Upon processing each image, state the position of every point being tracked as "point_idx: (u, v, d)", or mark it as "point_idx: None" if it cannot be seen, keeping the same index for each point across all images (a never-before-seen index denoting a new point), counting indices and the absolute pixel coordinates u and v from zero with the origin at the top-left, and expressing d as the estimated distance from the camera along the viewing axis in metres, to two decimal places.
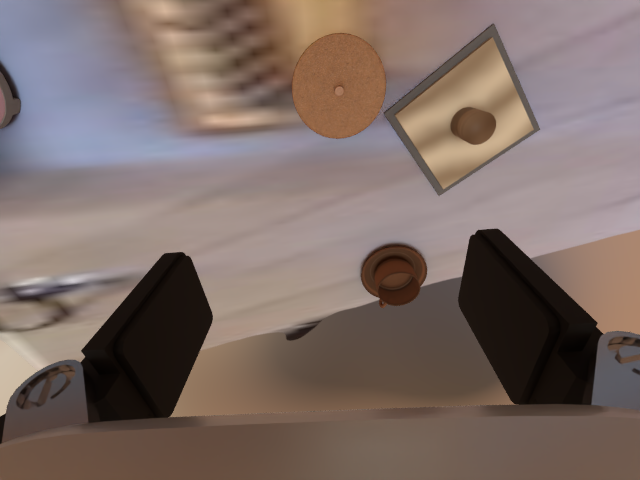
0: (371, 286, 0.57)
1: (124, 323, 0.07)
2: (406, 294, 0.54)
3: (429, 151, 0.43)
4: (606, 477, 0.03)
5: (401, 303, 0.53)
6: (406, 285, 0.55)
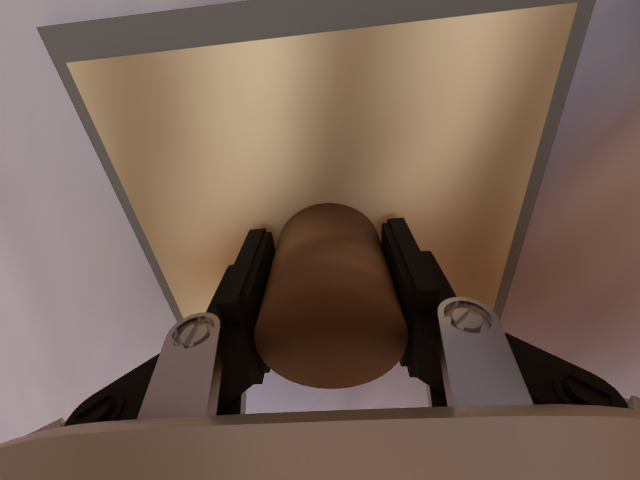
0: None
1: (243, 283, 0.08)
2: None
3: (300, 85, 0.09)
4: (606, 477, 0.03)
5: None
6: None
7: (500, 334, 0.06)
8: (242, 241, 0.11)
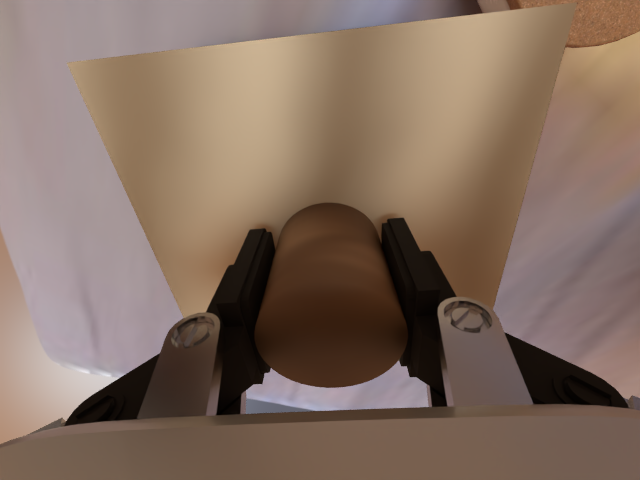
0: None
1: (243, 283, 0.08)
2: None
3: (300, 85, 0.09)
4: (606, 477, 0.03)
5: None
6: None
7: (500, 334, 0.06)
8: (242, 240, 0.11)
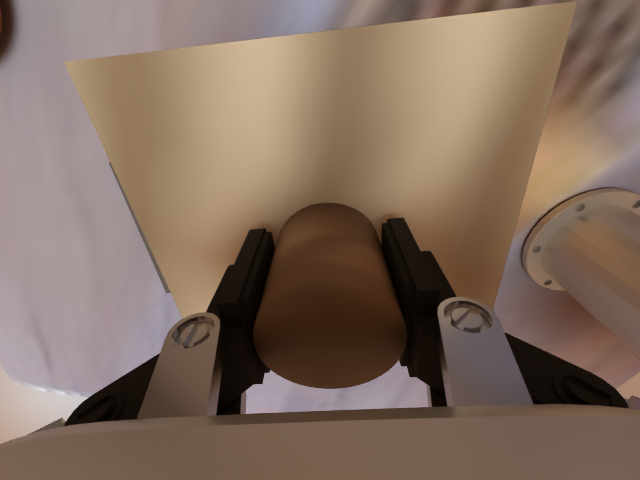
0: None
1: (243, 283, 0.08)
2: None
3: (298, 85, 0.09)
4: (606, 477, 0.03)
5: None
6: None
7: (500, 334, 0.06)
8: (241, 241, 0.11)
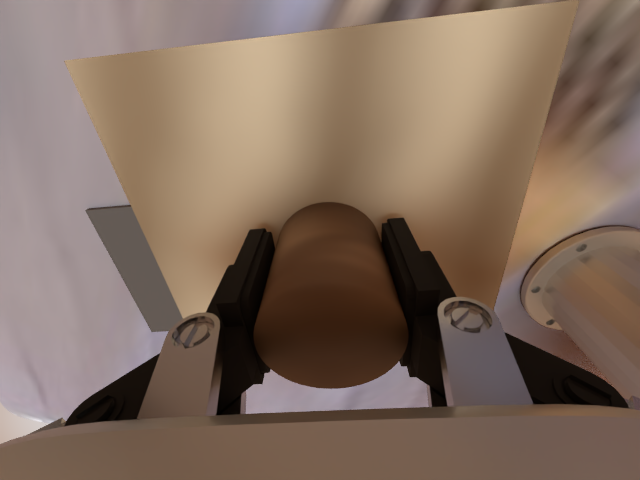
0: None
1: (243, 283, 0.08)
2: None
3: (299, 83, 0.09)
4: (605, 476, 0.03)
5: None
6: None
7: (500, 334, 0.06)
8: (241, 240, 0.11)
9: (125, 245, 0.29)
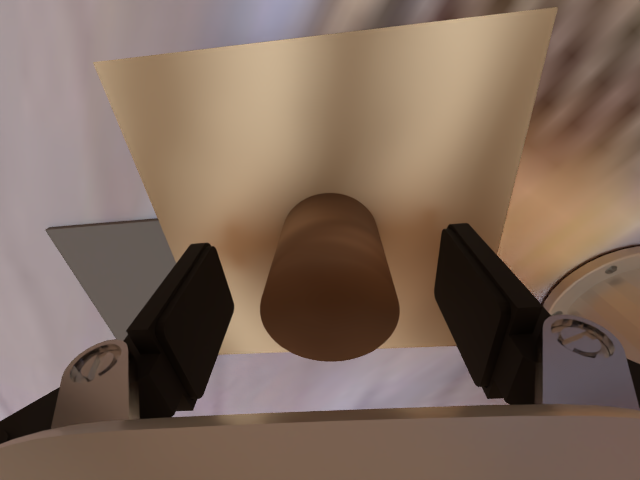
0: None
1: (162, 306, 0.07)
2: None
3: (303, 83, 0.09)
4: (606, 477, 0.03)
5: None
6: None
7: (622, 366, 0.05)
8: (249, 229, 0.12)
9: (93, 267, 0.26)
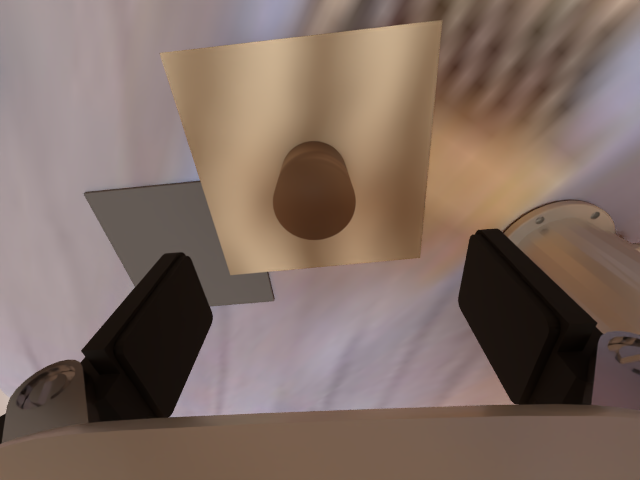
0: None
1: (124, 323, 0.07)
2: None
3: (294, 66, 0.15)
4: (606, 477, 0.03)
5: None
6: None
7: None
8: (258, 169, 0.18)
9: (122, 226, 0.31)
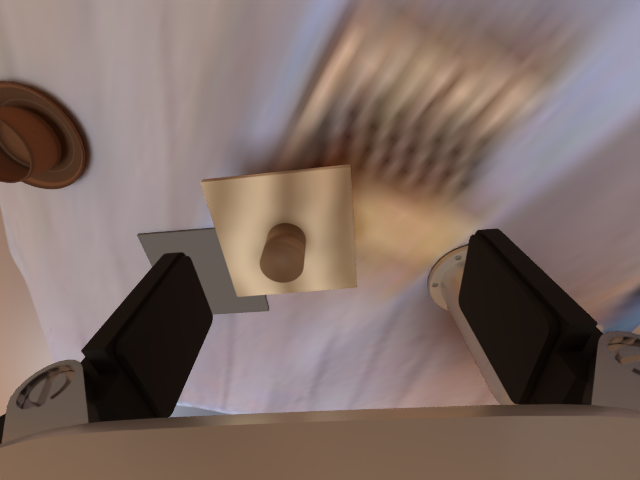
0: (2, 90, 0.32)
1: (123, 323, 0.07)
2: None
3: (272, 187, 0.28)
4: (606, 477, 0.03)
5: None
6: (1, 148, 0.34)
7: None
8: (253, 237, 0.30)
9: None
